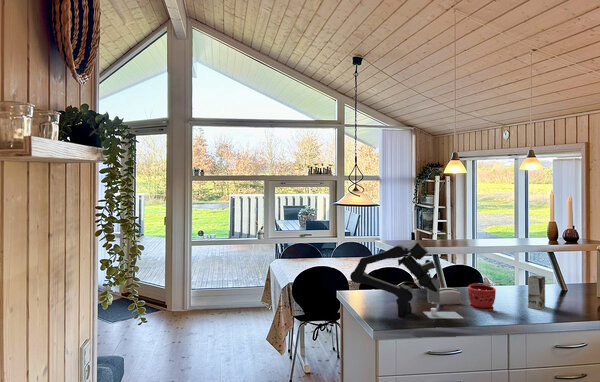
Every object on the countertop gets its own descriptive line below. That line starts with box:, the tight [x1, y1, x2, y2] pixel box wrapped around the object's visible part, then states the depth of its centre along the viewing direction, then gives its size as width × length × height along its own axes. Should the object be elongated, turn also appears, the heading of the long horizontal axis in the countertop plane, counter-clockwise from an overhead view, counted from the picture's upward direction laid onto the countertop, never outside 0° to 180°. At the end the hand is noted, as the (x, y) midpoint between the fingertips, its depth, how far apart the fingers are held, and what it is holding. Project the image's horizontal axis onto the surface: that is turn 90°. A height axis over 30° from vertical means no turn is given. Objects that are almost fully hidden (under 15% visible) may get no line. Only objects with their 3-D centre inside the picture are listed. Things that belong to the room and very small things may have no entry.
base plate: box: [423, 307, 464, 319], centre depth 202 cm, size 16×11×4 cm
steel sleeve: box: [427, 277, 441, 303], centre depth 203 cm, size 5×5×10 cm
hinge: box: [428, 287, 462, 305], centre depth 229 cm, size 17×5×10 cm, turn 99°
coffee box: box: [527, 275, 546, 311], centre depth 223 cm, size 9×6×16 cm
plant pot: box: [467, 284, 497, 313], centre depth 217 cm, size 13×13×12 cm
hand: (436, 290), depth 202 cm, fingers closed on steel sleeve, 5 cm apart
